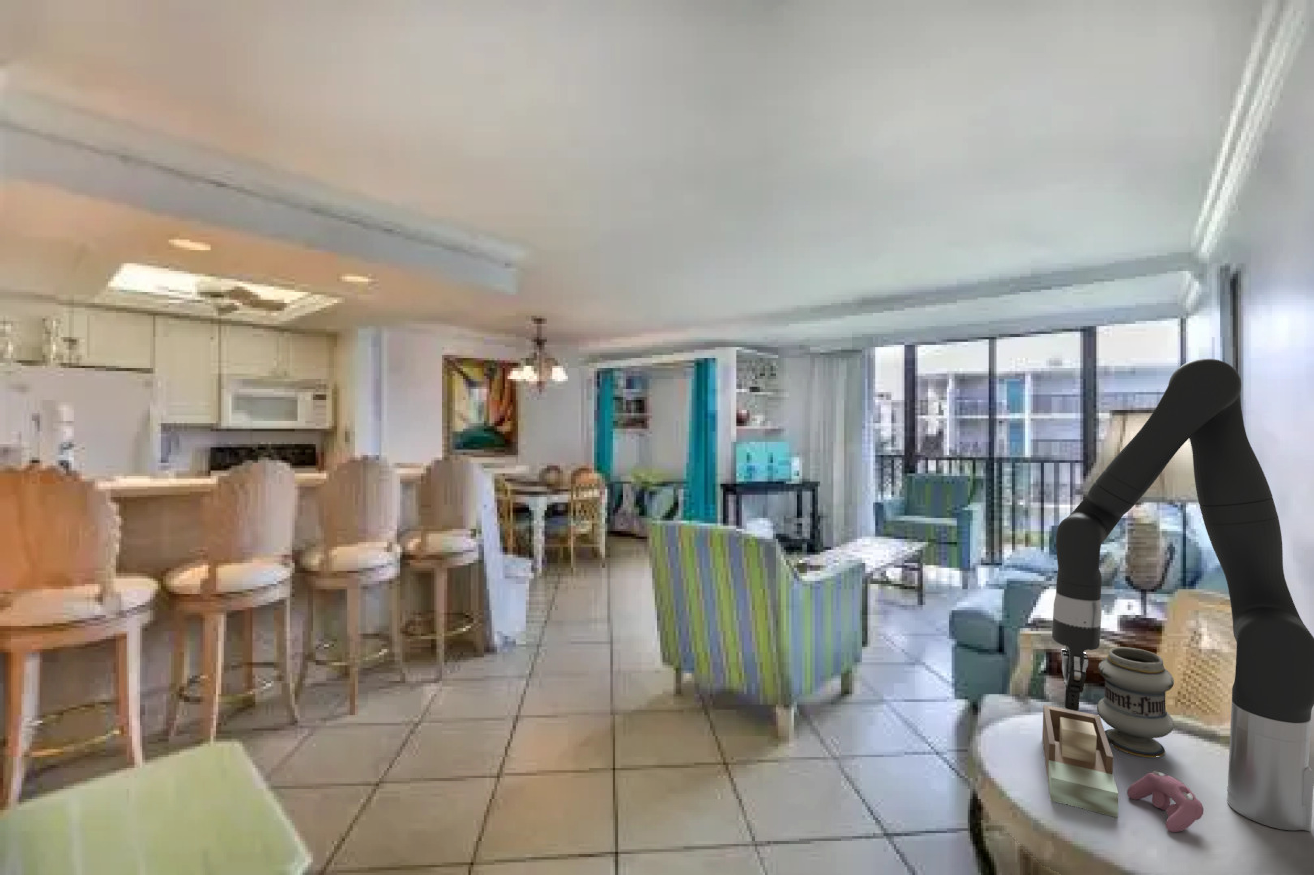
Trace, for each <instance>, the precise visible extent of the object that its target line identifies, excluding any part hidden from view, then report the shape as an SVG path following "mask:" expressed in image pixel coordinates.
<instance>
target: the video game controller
mask: <svg viewBox="0 0 1314 875" xmlns="http://www.w3.org/2000/svg"><path fill="white" fill-rule="evenodd" d="M1126 794H1127V797H1129V799H1131V800H1141V799H1144V798H1147V797H1149V796H1152V798H1151V802H1152V804H1153V806H1154V807H1156V808H1159V809H1160V810H1161V811H1162V810H1163V811H1166V813H1167V817H1168V818H1167V819H1166V821H1165V829H1166V830H1167V831H1169V832H1171V833H1179V832H1182V831H1184V830H1186V829H1188V828H1189V827H1191V825H1193V824H1194V822H1196V821H1198V820H1200V819H1201V818H1202V816H1203V815H1204V812H1205V811H1204V806H1203V804H1202V802H1201V800H1199V799H1198V798H1197V797H1196V795H1195V794H1194V793H1193V792H1192V790H1191V789H1190V788H1189V787H1187V786H1186V785H1185V784H1184V783H1183V782H1181V781H1180V780H1178V779H1176V778H1175V777H1172V776H1171V775H1168V774H1166V773H1163V772H1158V771H1157V770H1154V771H1153V772H1148V773H1147V774H1145V775H1144V776H1143V777H1141V778H1139V779H1138V780H1137V781H1135V782H1133V783H1132V784H1130V786H1129V787H1128V789H1127V792H1126ZM1171 801H1173V802H1174V803H1172V804H1171Z"/></svg>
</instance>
